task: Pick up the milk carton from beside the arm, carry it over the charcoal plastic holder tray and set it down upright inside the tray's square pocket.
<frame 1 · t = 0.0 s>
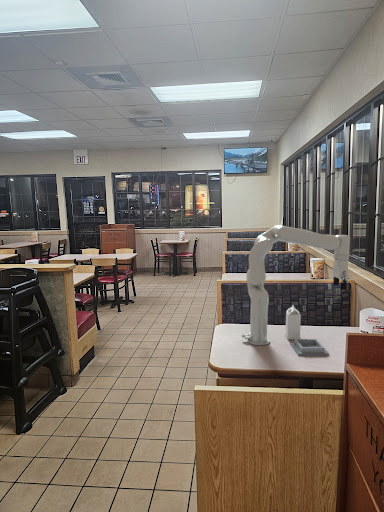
hand: (339, 287, 199), 31 cm above the table, tool pointing down, fingers open, 9 cm apart
carton tray: (308, 349, 192), on the table
milk carton: (292, 337, 209), on the table
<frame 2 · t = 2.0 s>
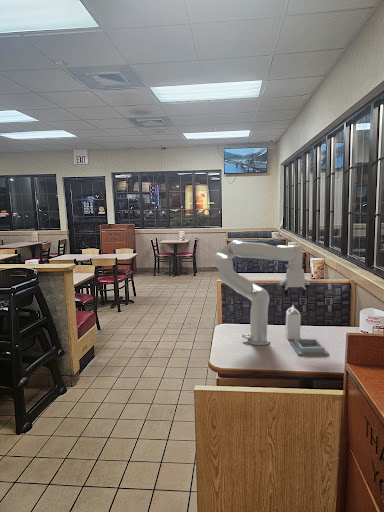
hand: (294, 295, 205), 25 cm above the table, tool pointing down, fingers open, 9 cm apart
nothing on the table moved.
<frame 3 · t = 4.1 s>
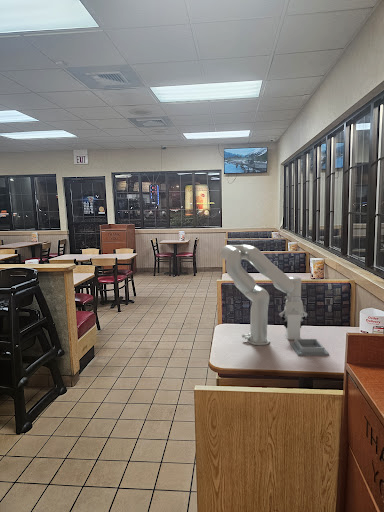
hand: (292, 327, 208), 6 cm above the table, tool pointing down, fingers closed on milk carton, 7 cm apart
milk carton: (292, 337, 209), on the table, touching gripper
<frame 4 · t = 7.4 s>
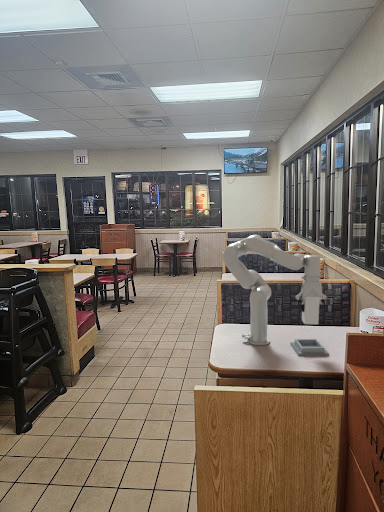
hand: (310, 310, 189), 22 cm above the table, tool pointing down, fingers closed on milk carton, 7 cm apart
milk carton: (309, 322, 190), point 15 cm above the table, touching gripper
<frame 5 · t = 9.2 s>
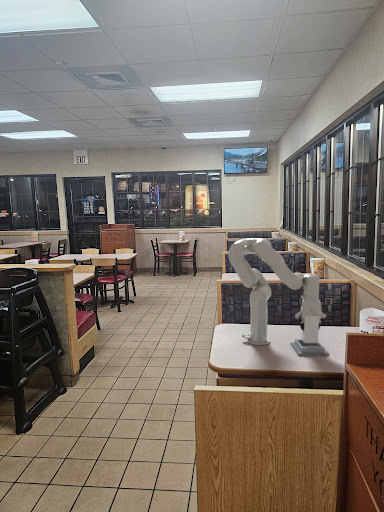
hand: (310, 329, 190), 11 cm above the table, tool pointing down, fingers closed on milk carton, 7 cm apart
milk carton: (309, 341, 191), point 5 cm above the table, touching gripper
when the fingers open (9 cm above the table, at t = 10.8 s): milk carton drops 1 cm, resting on carton tray.
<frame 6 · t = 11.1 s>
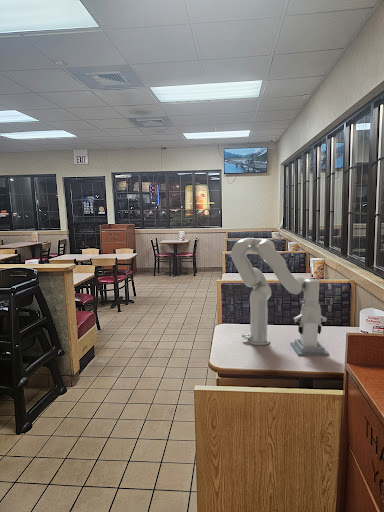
hand: (309, 333, 191), 9 cm above the table, tool pointing down, fingers open, 9 cm apart
milk carton: (308, 348, 192), point 1 cm above the table, touching carton tray
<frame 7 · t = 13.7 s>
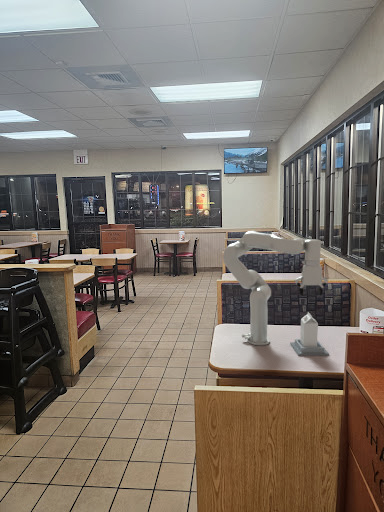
hand: (310, 294, 188), 30 cm above the table, tool pointing down, fingers open, 9 cm apart
nothing on the table moved.
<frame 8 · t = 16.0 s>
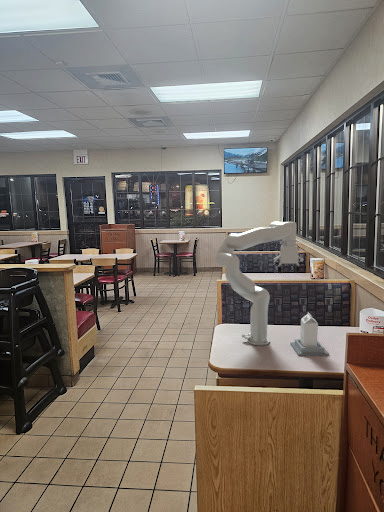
hand: (288, 272, 206), 38 cm above the table, tool pointing down, fingers open, 9 cm apart
nothing on the table moved.
at the end: milk carton 0.4 cm off-centre on the carton tray, point 0.8 cm above the carton tray's base; milk carton tilted 0°; the gripper is holding nothing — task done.
